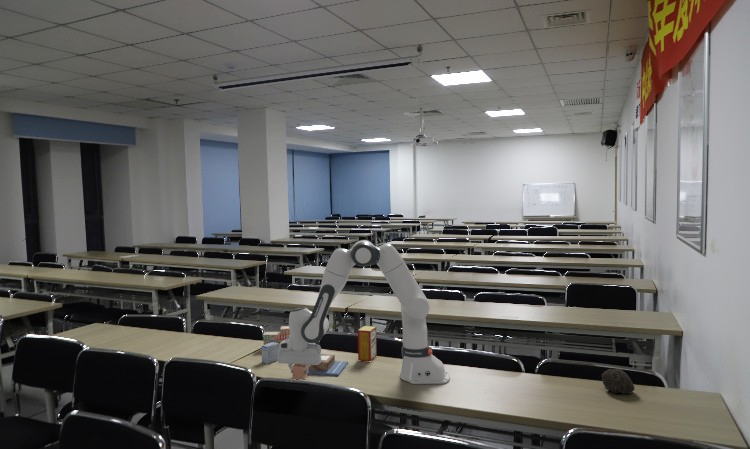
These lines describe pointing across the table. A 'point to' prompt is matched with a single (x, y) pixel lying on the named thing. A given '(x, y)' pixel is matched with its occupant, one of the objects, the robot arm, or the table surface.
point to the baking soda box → (367, 343)
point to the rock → (617, 381)
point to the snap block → (299, 371)
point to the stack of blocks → (277, 335)
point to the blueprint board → (337, 372)
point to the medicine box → (270, 352)
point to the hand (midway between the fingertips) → (299, 373)
